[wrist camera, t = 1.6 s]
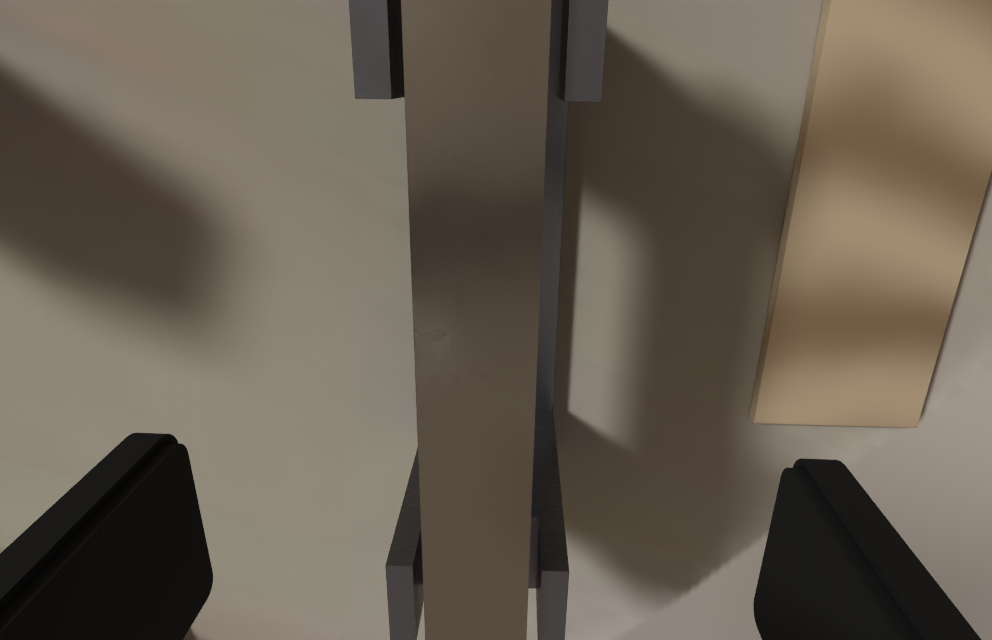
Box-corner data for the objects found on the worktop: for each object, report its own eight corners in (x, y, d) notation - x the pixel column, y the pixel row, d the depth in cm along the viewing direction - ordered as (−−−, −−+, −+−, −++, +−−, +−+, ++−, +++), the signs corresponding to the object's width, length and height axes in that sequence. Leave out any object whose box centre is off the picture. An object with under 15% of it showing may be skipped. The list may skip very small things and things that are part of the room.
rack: (548, 458, 29) (563, 647, 19) (432, 454, 29) (390, 641, 20) (571, 1, 22) (612, -57, 13) (420, -1, 22) (345, -59, 13)
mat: (908, 420, 28) (916, 427, 27) (749, 416, 28) (753, 423, 27) (1082, -188, 20) (1098, -196, 19) (857, -189, 20) (867, -196, 20)
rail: (523, 620, 22) (524, 698, 20) (438, 617, 22) (427, 695, 20) (549, -112, 14) (557, -158, 12) (418, -112, 14) (394, -158, 12)
